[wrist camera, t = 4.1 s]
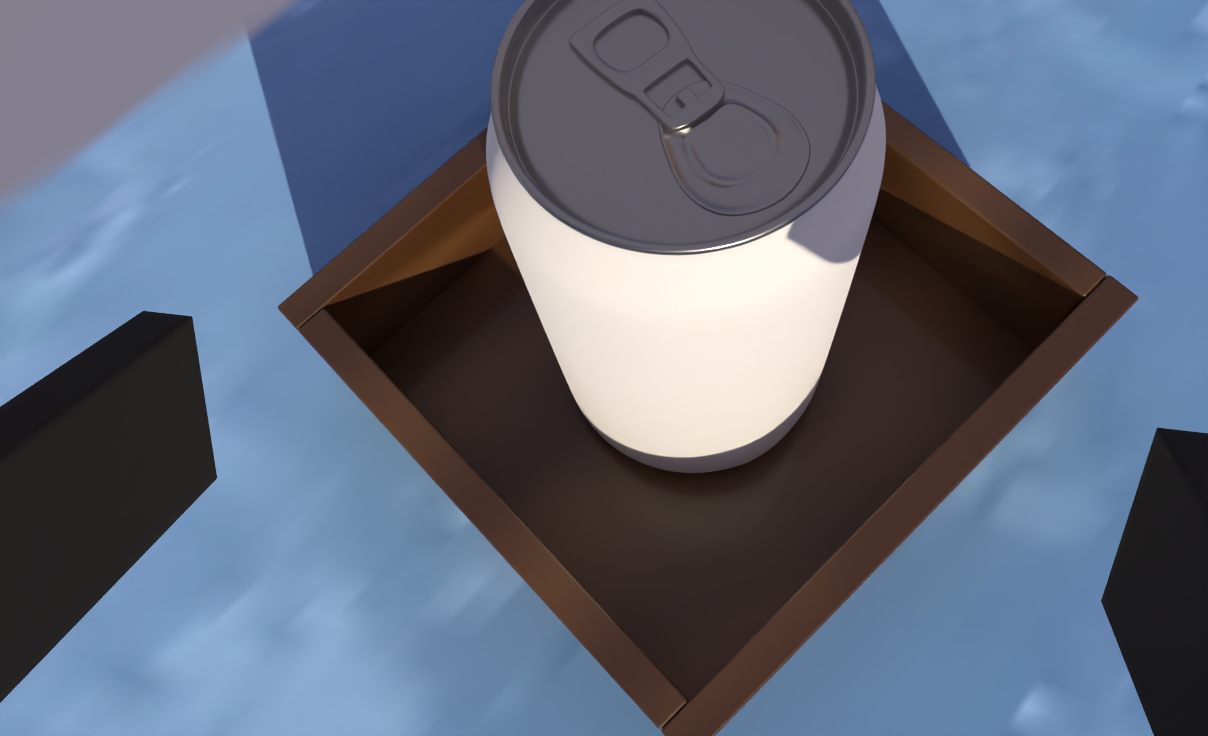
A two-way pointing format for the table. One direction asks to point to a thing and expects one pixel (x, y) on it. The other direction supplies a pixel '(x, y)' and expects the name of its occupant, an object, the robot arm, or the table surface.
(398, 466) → the table surface
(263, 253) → the table surface
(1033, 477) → the table surface
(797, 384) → the can
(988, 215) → the wooden box
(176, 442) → the robot arm
